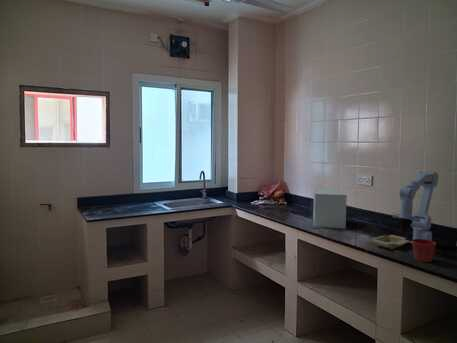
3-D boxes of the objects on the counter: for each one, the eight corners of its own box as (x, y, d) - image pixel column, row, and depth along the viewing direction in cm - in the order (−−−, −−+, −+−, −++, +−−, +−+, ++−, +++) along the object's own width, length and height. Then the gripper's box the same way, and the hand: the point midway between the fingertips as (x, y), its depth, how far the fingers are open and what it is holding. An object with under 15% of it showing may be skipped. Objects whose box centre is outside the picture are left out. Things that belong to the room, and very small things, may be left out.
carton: (407, 244, 204) (408, 238, 204) (387, 250, 192) (388, 244, 191) (390, 239, 213) (390, 234, 213) (370, 245, 201) (370, 240, 200)
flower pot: (409, 255, 184) (409, 237, 183) (431, 257, 181) (432, 239, 180) (413, 261, 174) (414, 243, 173) (437, 264, 171) (438, 245, 170)
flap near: (403, 239, 202) (403, 240, 202) (392, 243, 194) (392, 243, 194) (410, 240, 198) (410, 241, 198) (399, 244, 191) (399, 245, 191)
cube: (313, 219, 270) (313, 189, 268) (341, 221, 265) (342, 190, 263) (314, 227, 245) (315, 193, 243) (345, 229, 241) (346, 195, 239)
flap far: (380, 236, 213) (380, 236, 213) (369, 239, 206) (369, 240, 206) (386, 235, 210) (386, 236, 210) (375, 238, 203) (375, 239, 203)
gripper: (390, 207, 197) (389, 230, 198) (416, 211, 185) (415, 236, 186) (397, 206, 201) (395, 228, 202) (422, 210, 189) (421, 234, 190)
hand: (405, 232), depth 194 cm, fingers closed
